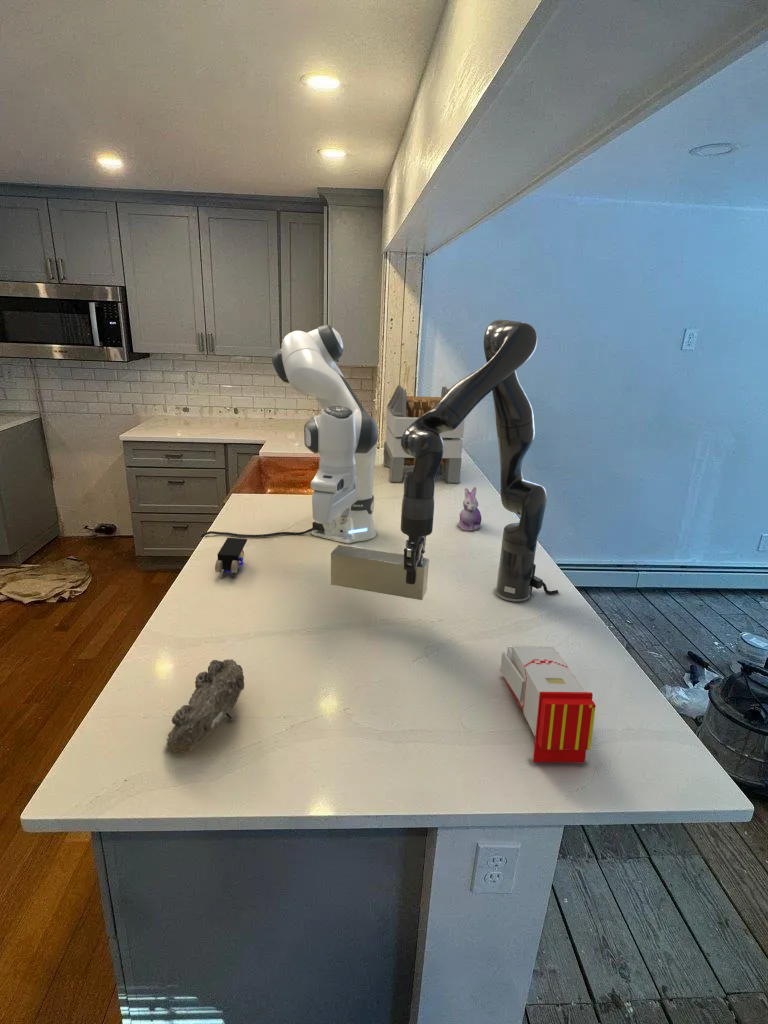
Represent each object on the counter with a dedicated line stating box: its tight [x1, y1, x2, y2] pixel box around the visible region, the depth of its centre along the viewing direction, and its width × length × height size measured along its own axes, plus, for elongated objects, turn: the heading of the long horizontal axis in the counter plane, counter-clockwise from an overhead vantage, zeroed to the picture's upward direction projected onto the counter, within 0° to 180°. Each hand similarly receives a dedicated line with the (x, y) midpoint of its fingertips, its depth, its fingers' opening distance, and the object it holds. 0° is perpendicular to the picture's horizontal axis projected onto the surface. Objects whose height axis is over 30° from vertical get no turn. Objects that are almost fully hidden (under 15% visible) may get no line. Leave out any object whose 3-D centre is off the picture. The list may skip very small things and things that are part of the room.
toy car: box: [214, 537, 248, 578], centre depth 166 cm, size 7×8×15 cm
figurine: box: [458, 486, 482, 532], centre depth 206 cm, size 9×10×15 cm
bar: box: [330, 544, 430, 601], centre depth 140 cm, size 24×6×9 cm, turn 74°
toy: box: [499, 645, 597, 764], centre depth 112 cm, size 12×13×30 cm
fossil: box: [166, 658, 245, 754], centre depth 106 cm, size 22×10×15 cm
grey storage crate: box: [383, 384, 465, 484], centre depth 268 cm, size 34×33×41 cm
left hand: (337, 528), depth 141 cm, fingers open, 8 cm apart
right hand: (413, 577), depth 138 cm, fingers closed on bar, 5 cm apart
